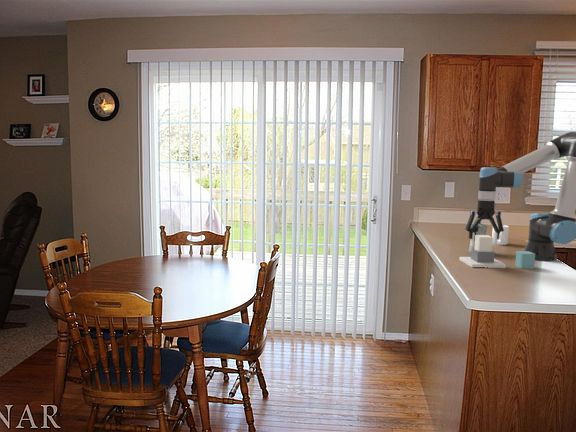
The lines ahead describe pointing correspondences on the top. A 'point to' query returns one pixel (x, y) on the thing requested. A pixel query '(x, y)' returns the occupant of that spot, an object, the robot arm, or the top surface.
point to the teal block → (525, 259)
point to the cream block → (483, 243)
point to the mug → (502, 236)
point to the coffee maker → (478, 233)
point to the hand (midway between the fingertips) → (483, 245)
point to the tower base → (490, 265)
